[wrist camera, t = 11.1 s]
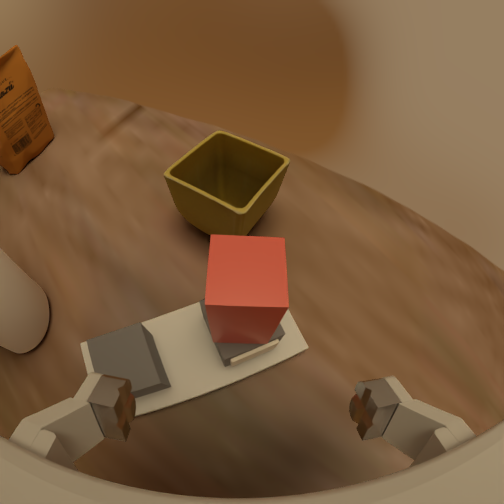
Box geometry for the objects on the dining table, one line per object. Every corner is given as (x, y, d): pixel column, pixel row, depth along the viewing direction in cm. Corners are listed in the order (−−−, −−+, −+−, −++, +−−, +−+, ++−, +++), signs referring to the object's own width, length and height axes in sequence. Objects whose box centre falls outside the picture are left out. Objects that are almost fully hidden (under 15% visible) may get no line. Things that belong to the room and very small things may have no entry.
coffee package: (-2, 169, 36) (-42, 84, 17) (39, 130, 42) (11, 46, 23) (14, 181, 34) (-33, 81, 16) (60, 137, 41) (30, 38, 22)
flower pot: (218, 185, 36) (218, 127, 28) (278, 215, 34) (292, 158, 26) (174, 231, 31) (160, 173, 24) (238, 269, 29) (243, 215, 22)
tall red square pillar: (267, 343, 20) (288, 307, 13) (212, 342, 20) (204, 304, 13) (266, 294, 22) (284, 237, 15) (215, 292, 22) (210, 234, 15)
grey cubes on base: (110, 423, 20) (83, 424, 15) (86, 347, 23) (59, 331, 19) (304, 350, 25) (322, 336, 21) (267, 281, 29) (276, 254, 24)
